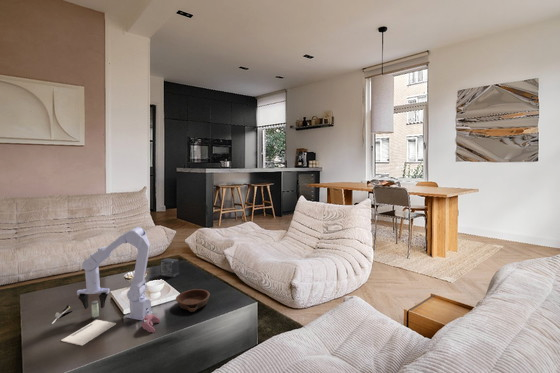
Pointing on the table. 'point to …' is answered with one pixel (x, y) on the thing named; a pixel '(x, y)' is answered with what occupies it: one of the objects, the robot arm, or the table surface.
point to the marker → (95, 309)
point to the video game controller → (149, 322)
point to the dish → (193, 299)
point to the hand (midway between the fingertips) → (94, 307)
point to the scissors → (61, 314)
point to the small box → (169, 267)
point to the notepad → (88, 332)
